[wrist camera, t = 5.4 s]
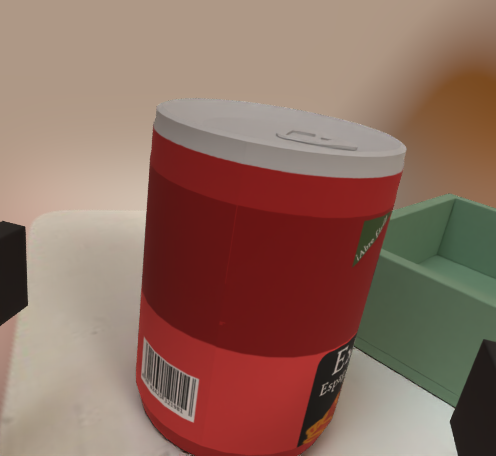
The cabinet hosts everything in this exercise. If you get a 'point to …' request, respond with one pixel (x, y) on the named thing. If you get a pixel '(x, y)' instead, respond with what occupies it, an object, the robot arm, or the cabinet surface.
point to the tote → (433, 293)
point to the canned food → (256, 270)
